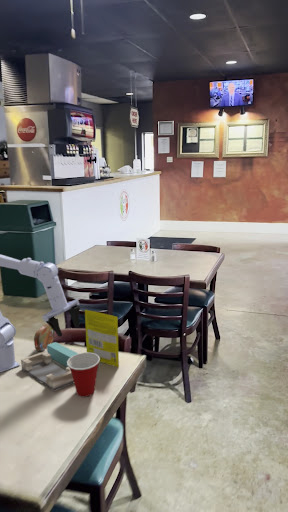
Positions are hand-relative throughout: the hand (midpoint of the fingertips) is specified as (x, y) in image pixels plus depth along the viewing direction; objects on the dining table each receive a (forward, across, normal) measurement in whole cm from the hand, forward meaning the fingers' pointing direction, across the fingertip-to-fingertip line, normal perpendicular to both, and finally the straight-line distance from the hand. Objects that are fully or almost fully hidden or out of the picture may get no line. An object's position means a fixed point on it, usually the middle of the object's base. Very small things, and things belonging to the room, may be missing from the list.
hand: (68, 331), depth 158 cm
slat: (+13, 0, +12) cm, 18 cm away
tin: (+10, +2, +29) cm, 31 cm away
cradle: (+13, -10, +6) cm, 17 cm away
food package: (+18, +9, +1) cm, 20 cm away
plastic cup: (+18, -8, -12) cm, 23 cm away
